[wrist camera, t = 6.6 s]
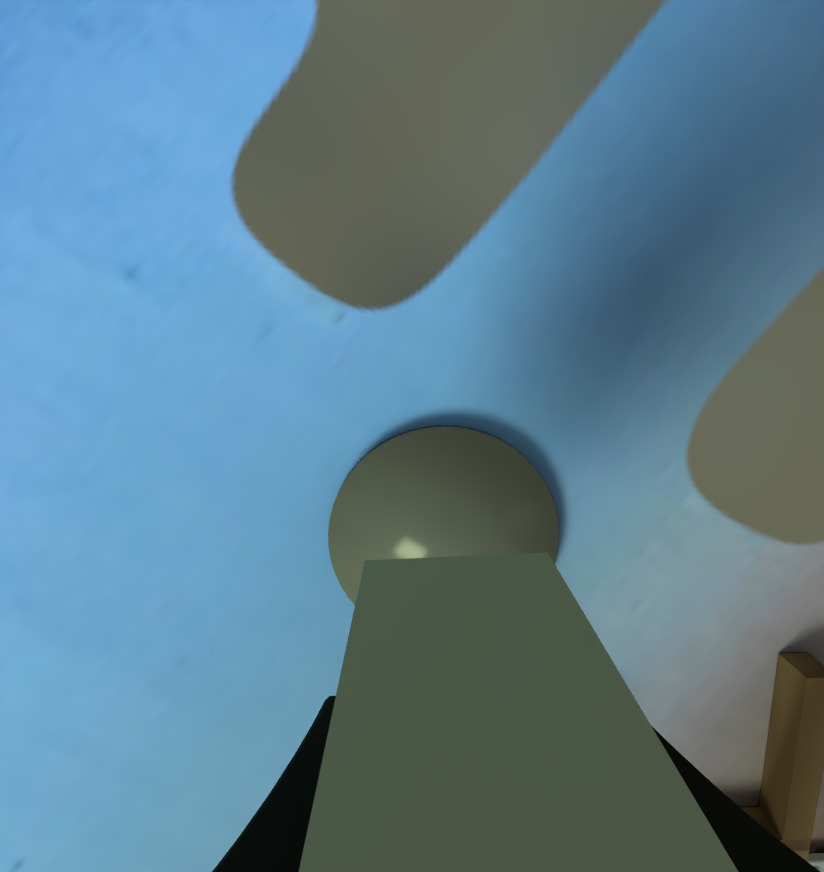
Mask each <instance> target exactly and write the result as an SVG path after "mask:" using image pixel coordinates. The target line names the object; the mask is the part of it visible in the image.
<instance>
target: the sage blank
mask: <svg viewBox="0 0 824 872" xmlns="http://www.w3.org/2000/svg"><path fill="white" fill-rule="evenodd" d="M299 872H738V870H737V869H736V867H735V865H734V864H733V862H732V860H731V859H730V857H729V855H728V854H727V852H726V850H725V849H724V847H723V845H722V844H721V842H720V840H719V839H718V837H717V835H716V834H715V832H714V830H713V829H712V827H711V825H710V824H709V822H708V820H707V819H706V817H705V815H704V814H703V812H702V810H701V809H700V807H699V805H698V803H697V802H696V800H695V798H694V797H693V795H692V793H691V792H690V790H689V788H688V787H687V785H686V783H685V782H684V780H683V778H682V777H681V775H680V773H679V772H678V770H677V768H676V767H675V765H674V763H673V762H672V760H671V758H670V757H669V755H668V753H667V752H666V750H665V748H664V747H663V745H662V743H661V742H660V740H659V738H658V737H657V735H656V733H655V731H654V730H653V728H652V726H651V725H650V723H649V721H648V720H647V718H646V716H645V715H644V713H643V711H642V710H641V708H640V706H639V705H638V703H637V701H636V700H635V698H634V696H633V695H632V693H631V691H630V690H629V688H628V686H627V685H626V683H625V681H624V680H623V678H622V676H621V675H620V673H619V671H618V670H617V668H616V666H615V665H614V663H613V661H612V660H611V658H610V656H609V654H608V653H607V651H606V649H605V648H604V646H603V644H602V643H601V641H600V639H599V638H598V636H597V634H596V633H595V631H594V629H593V628H592V626H591V624H590V623H589V621H588V619H587V618H586V616H585V614H584V613H583V611H582V609H581V608H580V606H579V604H578V603H577V601H576V599H575V598H574V596H573V594H572V593H571V591H570V589H569V588H568V586H567V584H566V583H565V581H564V579H563V577H562V576H561V574H560V572H559V571H558V569H557V567H556V566H555V564H554V562H553V561H552V559H551V557H550V556H549V554H548V553H526V554H503V555H479V556H456V557H433V558H409V559H386V560H365V561H364V566H363V571H362V576H361V580H360V585H359V590H358V594H357V599H356V604H355V609H354V613H353V618H352V623H351V627H350V632H349V637H348V642H347V646H346V651H345V656H344V660H343V665H342V670H341V675H340V679H339V684H338V689H337V693H336V698H335V703H334V708H333V712H332V717H331V722H330V726H329V731H328V736H327V741H326V745H325V750H324V755H323V759H322V764H321V769H320V774H319V778H318V783H317V788H316V792H315V797H314V802H313V807H312V811H311V816H310V821H309V825H308V830H307V835H306V840H305V844H304V849H303V854H302V858H301V863H300V868H299Z"/></svg>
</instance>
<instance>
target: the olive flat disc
mask: <svg viewBox="0 0 824 872" xmlns="http://www.w3.org/2000/svg"><path fill="white" fill-rule="evenodd" d="M328 536H329V551H330V557H331V562H332V565H333V568H334V571H335V574H336V576H337V578H338V580H339V583H340V585H341V586H342V588H343V590H344V591H345V593H346V594H347V596H348V597H349V599H350V600H351V601H352V602H353V603H354V604H356V599H357V594H358V590H359V585H360V580H361V576H362V571H363V566H364V561H365V560H386V559H409V558H433V557H456V556H479V555H503V554H526V553H548V554H549V556H550V557H551V559H552V561H553V562H554V564H555V561H556V557H557V553H558V546H559V521H558V516H557V511H556V507H555V504H554V501H553V498H552V495H551V493H550V491H549V489H548V487H547V485H546V483H545V481H544V480H543V479H542V477H541V476H540V474H539V473H538V472H537V470H536V469H535V468H534V467H533V465H532V464H531V463H530V462H529V461H528V460H527V459H526V458H525V457H524V456H523V455H522V454H521V453H519V452H518V451H517V450H516V449H514V448H513V447H512V446H511V445H509V444H507V443H506V442H504V441H502V440H501V439H499V438H497V437H494V436H492V435H490V434H488V433H485V432H482V431H479V430H475V429H472V428H467V427H460V426H443V425H438V426H429V427H422V428H418V429H414V430H410V431H407V432H404V433H401V434H399V435H396V436H394V437H392V438H390V439H388V440H386V441H385V442H383V443H381V444H379V445H378V446H377V447H375V448H374V449H373V450H371V451H370V452H369V453H367V454H366V455H365V456H364V457H363V458H362V459H361V460H360V461H359V462H358V463H357V464H356V466H355V467H354V468H353V469H352V471H351V472H350V473H349V474H348V476H347V478H346V479H345V481H344V483H343V484H342V486H341V488H340V490H339V493H338V495H337V498H336V500H335V502H334V505H333V509H332V513H331V516H330V523H329V531H328Z"/></svg>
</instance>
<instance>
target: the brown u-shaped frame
mask: <svg viewBox="0 0 824 872" xmlns="http://www.w3.org/2000/svg"><path fill="white" fill-rule="evenodd" d="M823 764H824V665H822V664H821V663H820V662H819V661H817V660H816V659H815V658H814V657H813V656H811V655H810V654H809V653H808V652H802V653H779V656H778V663H777V671H776V679H775V686H774V694H773V702H772V709H771V717H770V725H769V732H768V740H767V747H766V755H765V763H764V770H763V778H762V786H761V793H760V801H759V807H740V808H741V809H742V810H744V811H745V812H746V813H747V814H748V815H750V816H751V817H752V818H753V819H754V820H755V821H757V822H758V823H759V824H760V825H761V826H763V827H764V828H765V829H766V830H767V831H769V832H770V833H771V834H772V835H774V836H775V837H776V838H777V839H779V840H780V841H781V842H782V843H784V844H785V845H786V846H788V847H789V848H790V849H791V850H793V851H794V852H795V853H797V854H798V855H799V856H801V857H802V858H803V859H805V860H806V861H808V856H809V850H810V844H811V838H812V831H813V825H814V819H815V813H816V807H817V801H818V795H819V788H820V782H821V776H822V770H823Z"/></svg>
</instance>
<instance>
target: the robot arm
mask: <svg viewBox="0 0 824 872" xmlns="http://www.w3.org/2000/svg"><path fill="white" fill-rule="evenodd" d="M335 698H336V696H329V697H328V698H327V699H326V700H325V702H324V704H323V705H322V707H321V709H320V711H319V713H318V715H317V717H316V719H315V721H314V722H313V724H312V726H311V728H310V729H309V731H308V733H307V735H306V736H305V738H304V740H303V741H302V743H301V745H300V747H299V748H298V750H297V752H296V753H295V755H294V756H293V758H292V760H291V761H290V763H289V764H288V766H287V767H286V769H285V771H284V772H283V774H282V775H281V777H280V778H279V780H278V782H277V783H276V785H275V786H274V788H273V789H272V791H271V792H270V794H269V795H268V797H267V798H266V799H265V801H264V802H263V804H262V805H261V807H260V808H259V809H258V811H257V812H256V814H255V815H254V816H253V818H252V819H251V821H250V822H249V824H248V825H247V826H246V828H245V829H244V831H243V832H242V833H241V835H240V836H239V838H238V839H237V840H236V842H235V843H234V844H233V845H232V847H231V848H230V849H229V851H228V852H227V853H226V855H225V856H224V857H223V859H222V860H221V861H220V862H219V864H218V865H217V866H216V868H215V869H214V870H213V871H212V872H299V868H300V863H301V858H302V854H303V849H304V844H305V840H306V835H307V830H308V825H309V821H310V816H311V811H312V807H313V802H314V797H315V792H316V788H317V783H318V778H319V774H320V769H321V764H322V759H323V755H324V750H325V745H326V741H327V736H328V731H329V726H330V722H331V717H332V712H333V708H334V703H335ZM652 728H653V727H652ZM653 730H654V731H655V733H656V735H657V737H658V738H659V740H660V742H661V743H662V745H663V747H664V748H665V750H666V752H667V753H668V755H669V757H670V758H671V760H672V762H673V763H674V765H675V767H676V768H677V770H678V772H679V773H680V775H681V777H682V778H683V780H684V782H685V783H686V785H687V787H688V788H689V790H690V792H691V793H692V795H693V797H694V798H695V800H696V802H697V803H698V805H699V807H700V809H701V810H702V812H703V814H704V815H705V817H706V819H707V820H708V822H709V824H710V825H711V827H712V829H713V830H714V832H715V834H716V835H717V837H718V839H719V840H720V842H721V844H722V845H723V847H724V849H725V850H726V852H727V854H728V855H729V857H730V859H731V860H732V862H733V864H734V865H735V867H736V869H737V870H738V872H824V853H809V856H808V861H806V860H805V859H803V858H802V857H801V856H799V855H798V854H797V853H795V852H794V851H793V850H791V849H790V848H789V847H788V846H786V845H785V844H784V843H782V842H781V841H780V840H779V839H777V838H776V837H775V836H774V835H772V834H771V833H770V832H769V831H767V830H766V829H765V828H764V827H763V826H761V825H760V824H759V823H758V822H757V821H755V820H754V819H753V818H752V817H751V816H750V815H748V814H747V813H746V812H745V811H744V810H742V809H741V808H740V807H739V806H738V805H737V804H735V803H734V802H733V801H732V800H731V799H730V798H728V797H727V796H726V795H725V794H724V793H723V792H721V791H720V790H719V789H718V788H717V787H716V786H715V785H714V784H712V783H711V782H710V781H709V780H708V779H707V778H706V777H705V776H704V775H703V774H702V773H701V772H699V771H698V770H697V769H696V768H695V767H694V766H693V765H692V764H691V763H690V762H689V761H688V760H686V759H685V758H684V757H683V756H682V755H681V754H680V753H679V752H678V751H677V750H676V749H675V748H674V747H673V746H672V745H671V744H670V743H668V742H667V741H666V740H665V739H664V738H663V737H662V736H661V735H660V734H659V733H658V732H657V731H656V730H655V729H654V728H653Z"/></svg>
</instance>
